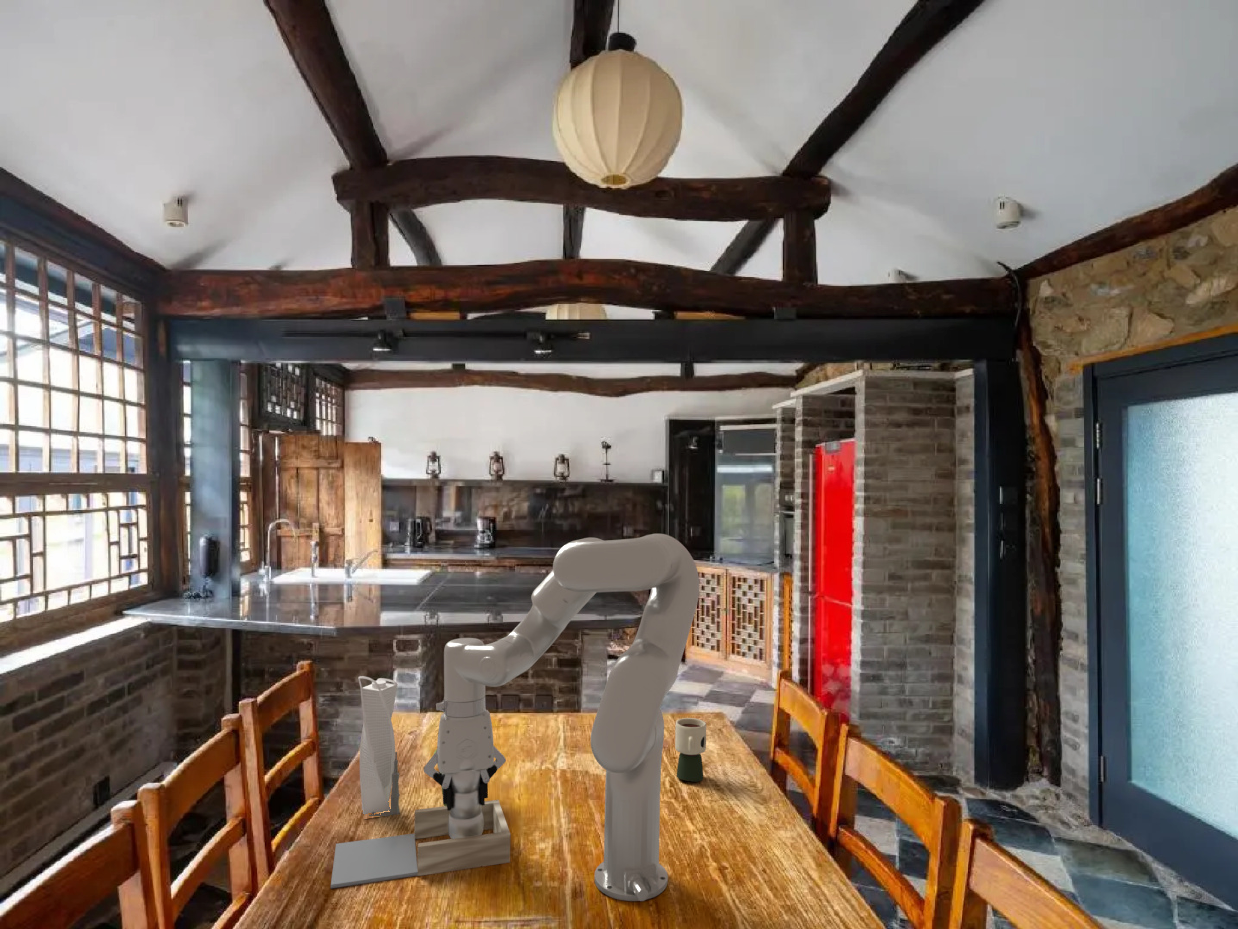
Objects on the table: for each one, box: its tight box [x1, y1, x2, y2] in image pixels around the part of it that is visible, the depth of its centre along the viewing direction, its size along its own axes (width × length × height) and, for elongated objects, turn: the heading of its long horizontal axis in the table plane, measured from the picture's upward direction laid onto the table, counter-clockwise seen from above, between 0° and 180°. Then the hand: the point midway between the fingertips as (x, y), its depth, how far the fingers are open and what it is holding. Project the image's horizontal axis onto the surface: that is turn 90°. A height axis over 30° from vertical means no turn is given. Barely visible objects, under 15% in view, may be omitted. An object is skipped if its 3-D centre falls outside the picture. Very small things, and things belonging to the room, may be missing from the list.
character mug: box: [674, 717, 707, 783], centre depth 166 cm, size 11×7×13 cm, turn 175°
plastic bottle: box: [447, 759, 484, 839], centre depth 133 cm, size 6×7×20 cm
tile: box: [330, 833, 418, 889], centre depth 129 cm, size 14×14×1 cm
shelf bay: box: [413, 799, 511, 877], centre depth 133 cm, size 14×16×5 cm
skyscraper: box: [357, 675, 401, 817], centre depth 149 cm, size 8×8×28 cm
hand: (465, 804), depth 133 cm, fingers closed on plastic bottle, 5 cm apart
